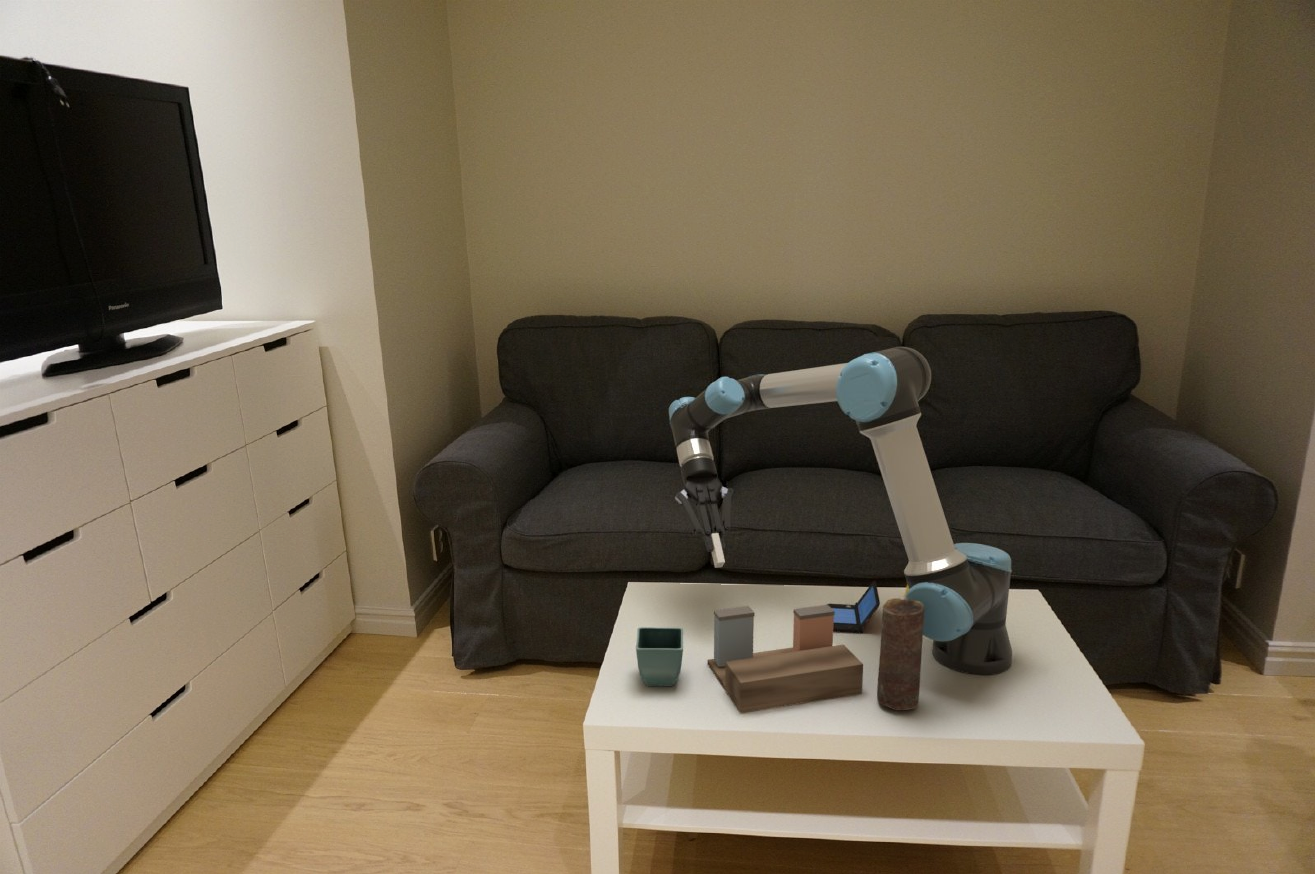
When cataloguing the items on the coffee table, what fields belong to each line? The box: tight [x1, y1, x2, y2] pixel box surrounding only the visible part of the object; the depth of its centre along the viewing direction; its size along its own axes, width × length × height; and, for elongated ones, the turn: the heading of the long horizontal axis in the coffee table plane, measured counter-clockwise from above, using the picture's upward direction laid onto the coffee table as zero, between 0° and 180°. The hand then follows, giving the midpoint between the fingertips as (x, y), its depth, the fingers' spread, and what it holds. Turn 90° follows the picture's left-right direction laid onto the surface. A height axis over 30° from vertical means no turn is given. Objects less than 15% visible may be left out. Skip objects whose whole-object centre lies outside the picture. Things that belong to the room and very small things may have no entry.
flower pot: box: [635, 626, 684, 687], centre depth 175 cm, size 9×9×9 cm
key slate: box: [713, 605, 755, 667], centre depth 179 cm, size 3×7×11 cm, turn 105°
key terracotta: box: [792, 604, 835, 652], centre depth 179 cm, size 3×7×11 cm, turn 105°
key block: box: [707, 644, 864, 714], centre depth 175 cm, size 18×24×6 cm
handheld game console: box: [825, 580, 881, 635], centre depth 199 cm, size 12×11×7 cm
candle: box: [876, 597, 925, 711], centre depth 164 cm, size 8×7×20 cm
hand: (720, 564), depth 188 cm, fingers closed
